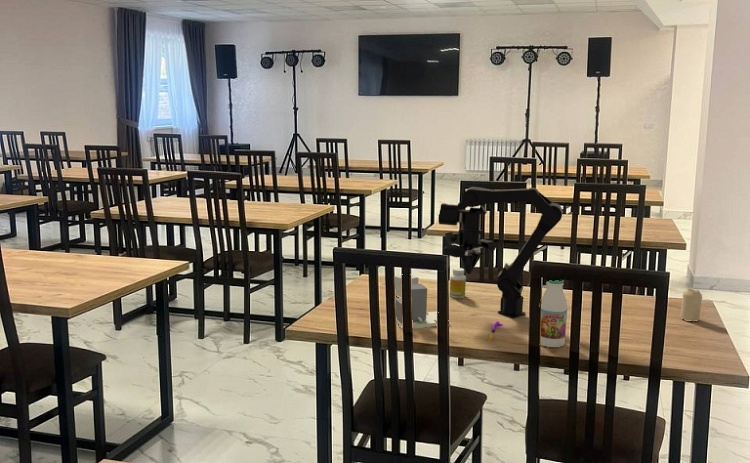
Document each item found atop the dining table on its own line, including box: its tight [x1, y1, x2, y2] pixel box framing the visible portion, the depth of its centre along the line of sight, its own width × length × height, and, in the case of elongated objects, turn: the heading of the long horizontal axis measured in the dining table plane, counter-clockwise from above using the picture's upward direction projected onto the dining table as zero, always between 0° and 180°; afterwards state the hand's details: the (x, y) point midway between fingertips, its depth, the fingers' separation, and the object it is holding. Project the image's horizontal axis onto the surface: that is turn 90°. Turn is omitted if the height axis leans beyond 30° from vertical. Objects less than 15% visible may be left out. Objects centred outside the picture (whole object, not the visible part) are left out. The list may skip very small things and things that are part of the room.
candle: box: [679, 288, 703, 321], centre depth 223 cm, size 6×6×10 cm
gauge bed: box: [394, 297, 450, 330], centre depth 215 cm, size 15×10×7 cm, turn 108°
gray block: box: [411, 283, 428, 321], centre depth 214 cm, size 5×9×10 cm, turn 18°
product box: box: [394, 274, 419, 297], centre depth 241 cm, size 6×6×7 cm
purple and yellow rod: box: [488, 320, 504, 342], centre depth 209 cm, size 3×1×16 cm
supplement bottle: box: [449, 267, 467, 299], centre depth 243 cm, size 5×5×10 cm
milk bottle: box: [540, 279, 568, 348], centre depth 198 cm, size 8×8×20 cm
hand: (468, 273), depth 227 cm, fingers closed
